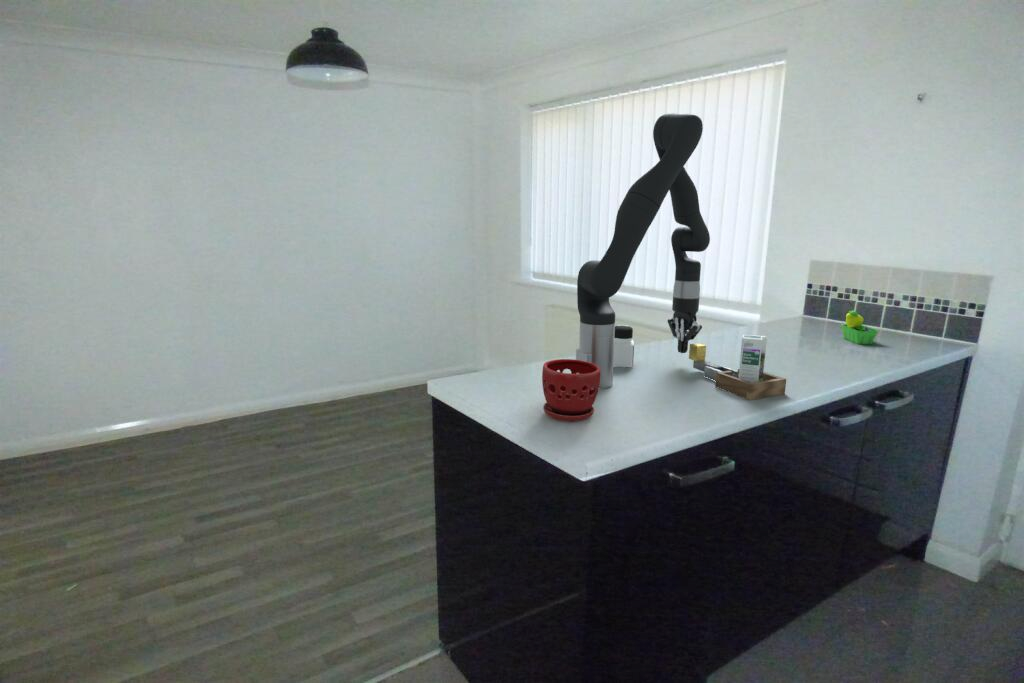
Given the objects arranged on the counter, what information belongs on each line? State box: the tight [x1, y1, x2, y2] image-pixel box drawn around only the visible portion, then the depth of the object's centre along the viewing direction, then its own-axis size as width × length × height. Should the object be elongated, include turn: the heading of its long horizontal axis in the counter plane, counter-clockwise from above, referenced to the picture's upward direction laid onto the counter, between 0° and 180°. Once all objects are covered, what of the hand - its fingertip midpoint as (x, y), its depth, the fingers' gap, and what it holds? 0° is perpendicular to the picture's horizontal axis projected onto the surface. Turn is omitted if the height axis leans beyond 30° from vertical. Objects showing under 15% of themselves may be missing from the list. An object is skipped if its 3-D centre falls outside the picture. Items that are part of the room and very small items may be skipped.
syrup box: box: [738, 334, 767, 383], centre depth 143 cm, size 6×6×14 cm
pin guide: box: [703, 364, 738, 382], centre depth 154 cm, size 5×8×3 cm, turn 24°
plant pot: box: [541, 358, 601, 423], centre depth 126 cm, size 13×13×12 cm
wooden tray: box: [715, 368, 787, 401], centre depth 145 cm, size 12×12×4 cm
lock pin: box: [688, 342, 724, 372], centre depth 159 cm, size 3×11×7 cm, turn 24°
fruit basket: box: [840, 310, 879, 345], centre depth 199 cm, size 11×9×11 cm
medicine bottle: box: [613, 324, 635, 369], centre depth 169 cm, size 7×7×12 cm
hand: (682, 352), depth 168 cm, fingers closed
